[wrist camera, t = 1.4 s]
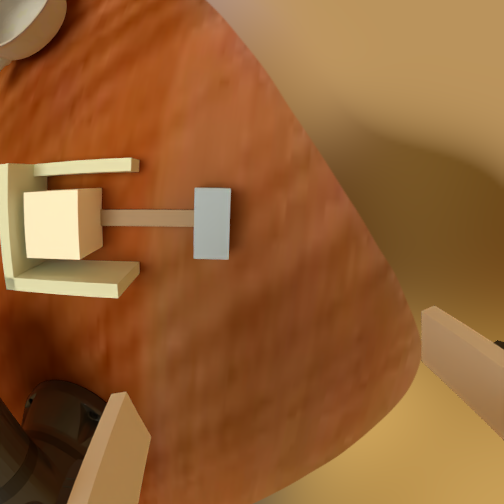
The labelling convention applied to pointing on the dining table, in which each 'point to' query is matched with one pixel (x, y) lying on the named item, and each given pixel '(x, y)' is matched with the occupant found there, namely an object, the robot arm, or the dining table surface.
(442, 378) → the robot arm
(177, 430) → the dining table surface
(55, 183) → the dining table surface
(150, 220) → the tethered block
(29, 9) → the teacup
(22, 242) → the shelf lane
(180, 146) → the dining table surface
